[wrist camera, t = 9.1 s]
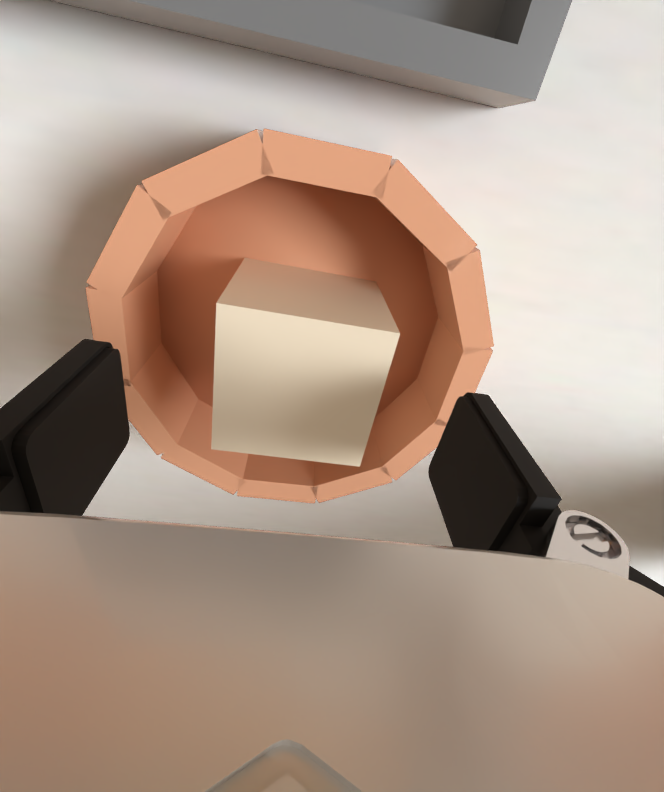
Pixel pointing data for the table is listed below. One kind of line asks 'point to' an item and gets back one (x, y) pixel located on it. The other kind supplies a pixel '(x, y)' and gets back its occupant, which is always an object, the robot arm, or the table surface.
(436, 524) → the table surface
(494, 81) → the parts tray
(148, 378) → the bowl
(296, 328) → the cream beige cube
